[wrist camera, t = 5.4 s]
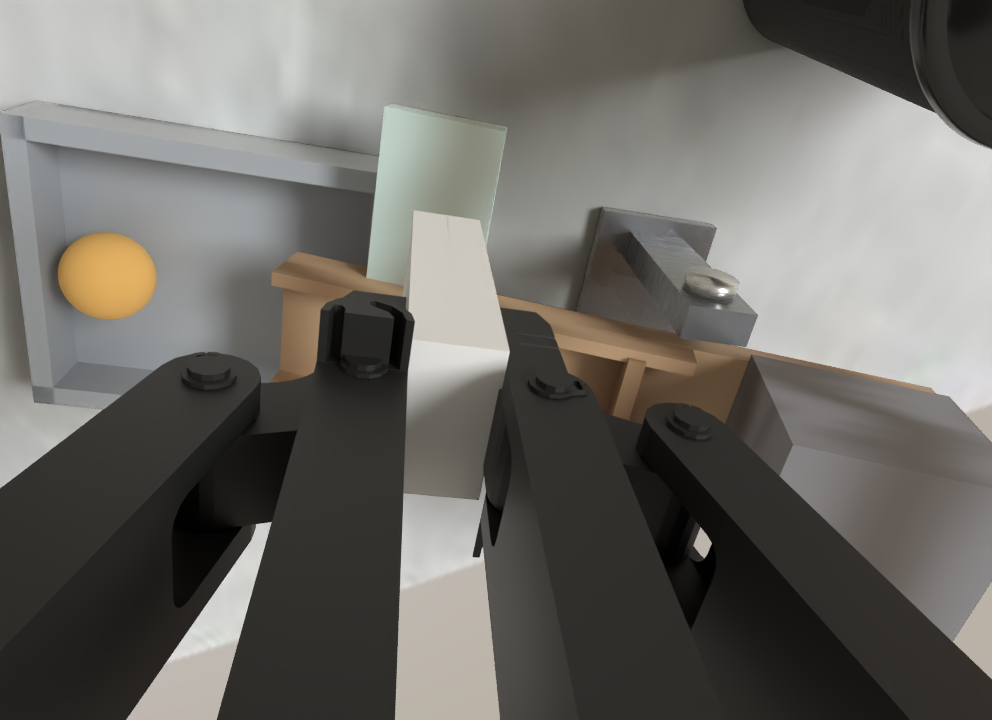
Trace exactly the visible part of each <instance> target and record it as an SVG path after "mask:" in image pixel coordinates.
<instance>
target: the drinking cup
mask: <svg viewBox="0 0 992 720" xmlns="http://www.w3.org/2000/svg"><path fill="white" fill-rule="evenodd" d="M743 2H744V6H745V9H746V12H747V15H748V17H749V19H750V21H751V22H752V24H753V25H754V27H755V28H756V29H757V30H758V31H759V32H760V33H761V34H762V35H763V36H765V37H766V38H768V39H769V40H771V41H773V42H776V43H778V44H780V45H782V46H785V47H787V48H789V49H791V50H794V51H796V52H798V53H801V54H803V55H805V56H807V57H810V58H812V59H814V60H816V61H819V62H821V63H823V64H826V65H828V66H830V67H832V68H835V69H837V70H839V71H841V72H844V73H846V74H848V75H851V76H853V77H855V78H857V79H860V80H862V81H864V82H866V83H869V84H871V85H873V86H875V87H878V88H880V89H882V90H885V91H887V92H889V93H891V94H894V95H896V96H898V97H900V98H903V99H905V100H907V101H910V102H912V103H914V104H916V105H919V106H921V107H923V108H925V109H928V110H930V111H932V112H935V113H937V114H938V116H939V117H940V118H941V119H942V120H943V121H944V122H945V123H946V124H947V125H948V126H949V127H950V128H951V129H952V130H954V131H955V132H956V133H958V134H959V135H961V136H962V137H964V138H966V139H967V140H969V141H971V142H973V143H975V144H978V145H980V146H983V147H985V148H988V149H991V150H992V0H743Z"/></svg>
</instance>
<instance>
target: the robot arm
mask: <svg viewBox="0 0 992 720" xmlns="http://www.w3.org/2000/svg"><path fill="white" fill-rule="evenodd" d="M483 477H485V485H486V496H485V501H484V505H483V510H482V515H481V519H480V524H479V529H478V533H477V538H476V543H475V547H474V552H473V557H480V553H481V549H482V547H483V549H484V559H485V570H486V580H487V589H488V600H489V609H490V620H491V630H492V639H493V651H494V661H495V671H496V680H497V691H498V701H499V711H500V720H992V679H991V678H990V677H989V676H988V675H987V674H986V673H984V672H983V671H982V670H981V669H980V668H979V667H978V666H977V665H976V664H975V663H974V662H973V661H972V660H971V659H970V658H969V657H968V656H967V655H966V654H965V653H964V652H963V651H961V650H960V649H959V648H958V647H957V646H956V645H955V644H954V643H953V642H952V641H951V640H950V639H949V638H948V637H947V636H946V635H945V634H944V633H943V632H942V631H941V630H940V629H939V628H938V627H937V626H935V625H934V624H933V623H932V622H931V621H930V620H929V619H928V618H927V617H926V616H925V615H924V614H923V613H922V612H921V611H920V610H919V609H918V608H917V607H916V606H915V605H914V604H912V603H911V602H910V601H909V600H908V599H907V598H906V597H905V596H904V595H903V594H902V593H901V592H900V591H899V590H898V589H897V588H896V587H895V586H894V585H893V584H892V583H891V582H890V581H888V580H887V579H886V578H885V577H884V576H883V575H882V574H881V573H880V572H879V571H878V570H877V569H876V568H875V567H874V566H873V565H872V564H871V563H870V562H869V561H868V560H867V559H866V558H864V557H863V556H862V555H861V554H860V553H859V552H858V551H857V550H856V549H855V548H854V547H853V546H852V545H851V544H850V543H849V542H848V541H847V540H846V539H845V538H844V537H843V536H841V535H840V534H839V533H838V532H837V531H836V530H835V529H834V528H833V527H832V526H831V525H830V524H829V523H828V522H827V521H826V520H825V519H824V518H823V517H822V516H821V515H820V514H819V513H817V512H816V511H815V510H814V509H813V508H812V507H811V506H810V505H809V504H808V503H807V502H806V501H805V500H804V499H803V498H802V497H801V496H800V495H799V494H798V493H797V492H796V491H795V490H793V489H792V488H791V487H790V486H789V485H788V484H787V483H786V482H785V481H784V480H783V479H782V478H781V477H780V476H779V475H778V474H777V473H776V472H775V471H774V470H773V469H772V468H770V467H769V466H768V465H767V464H766V463H765V462H764V461H763V460H762V459H761V458H760V457H759V456H758V455H757V454H756V453H755V452H754V451H753V450H752V449H751V448H750V447H749V446H748V445H746V444H745V443H744V442H743V441H742V440H741V439H740V438H739V437H738V436H737V435H736V434H735V433H734V432H733V431H732V430H731V429H730V428H729V427H728V426H727V425H726V424H724V423H723V422H722V421H720V420H719V419H717V418H716V417H715V416H713V415H711V414H709V413H707V412H705V411H703V410H702V409H701V408H699V407H696V406H693V405H691V406H689V404H685V403H668V402H665V403H659V404H654V405H652V406H651V407H650V408H648V409H647V410H646V413H645V417H644V420H643V423H642V424H639V423H636V422H633V421H629V420H626V419H622V418H619V417H616V416H613V415H610V414H607V413H604V412H602V411H601V409H600V406H599V404H598V402H597V399H596V397H595V394H594V392H593V391H592V389H591V388H590V387H589V385H588V384H587V383H585V382H584V381H582V380H581V379H579V378H578V377H576V376H574V375H571V374H569V373H568V372H567V369H566V366H565V363H564V361H563V358H562V355H561V352H560V350H559V347H558V344H557V341H556V340H555V336H554V333H553V330H552V328H551V325H550V324H549V323H548V322H547V321H546V320H544V319H543V318H542V317H541V316H540V315H539V314H538V313H536V312H531V311H523V310H516V309H508V308H501V307H500V306H499V302H498V298H497V293H496V289H495V285H494V280H493V276H492V271H491V267H490V263H489V258H488V254H487V250H486V245H485V241H484V236H483V232H482V228H481V223H480V220H475V219H469V218H462V217H456V216H449V215H442V214H436V213H429V212H422V211H416V210H414V211H413V219H412V227H411V234H410V242H409V250H408V257H407V265H406V273H405V280H404V288H403V296H394V295H387V294H379V293H371V292H364V291H356V290H353V291H352V292H350V293H349V294H347V295H346V296H344V297H343V298H337V299H335V300H332V301H330V302H327V303H326V304H325V305H324V306H323V307H322V308H321V311H320V324H319V337H318V350H317V362H316V365H315V369H314V372H313V373H311V374H309V375H307V376H305V377H302V378H298V379H294V380H290V381H282V382H271V383H261V376H260V373H259V370H258V368H257V367H256V366H254V365H253V364H252V363H250V362H249V361H247V360H245V359H242V358H239V357H236V356H233V355H227V354H221V353H219V352H207V353H205V352H197V353H193V354H190V355H185V356H181V357H177V358H174V359H172V360H170V361H168V362H166V363H165V364H163V365H161V366H160V367H158V368H157V369H156V370H155V371H153V372H152V373H151V374H149V375H148V376H147V377H145V378H144V379H143V380H141V381H140V382H139V383H138V384H136V385H135V386H134V387H132V388H131V389H130V390H128V391H127V392H126V393H125V394H123V395H122V396H121V397H119V398H118V399H117V400H115V401H114V402H113V403H111V404H110V405H109V406H108V407H106V408H105V409H104V410H102V411H101V412H100V413H98V414H97V415H96V416H94V417H93V418H92V419H91V420H89V421H88V422H87V423H85V424H84V425H83V426H81V427H80V428H79V429H77V430H76V431H75V432H74V433H72V434H71V435H70V436H68V437H67V438H66V439H64V440H63V441H62V442H60V443H59V444H58V445H57V446H55V447H54V448H53V449H51V450H50V451H49V452H47V453H46V454H45V455H43V456H42V457H41V458H40V459H38V460H37V461H36V462H34V463H33V464H32V465H30V466H29V467H28V468H27V469H25V470H24V471H23V472H21V473H20V474H19V475H17V476H16V477H15V478H13V479H12V480H11V481H10V482H8V483H7V484H6V485H4V486H3V487H2V488H0V720H126V719H127V717H128V716H129V715H130V713H131V712H132V710H133V709H134V707H135V706H136V705H137V703H138V702H139V700H140V699H141V697H142V696H143V695H144V693H145V692H146V690H147V689H148V687H149V686H150V685H151V683H152V682H153V680H154V679H155V677H156V676H157V674H158V673H159V672H160V670H161V669H162V667H163V666H164V665H165V663H166V662H167V660H168V659H169V657H170V656H171V654H172V653H173V652H174V650H175V649H176V647H177V646H178V644H179V643H180V642H181V640H182V639H183V637H184V636H185V634H186V633H187V631H188V630H189V629H190V627H191V626H192V624H193V623H194V621H195V620H196V619H197V617H198V616H199V614H200V613H201V611H202V610H203V608H204V607H205V606H206V604H207V603H208V601H209V600H210V598H211V597H212V596H213V594H214V593H215V591H216V590H217V588H218V587H219V586H220V584H221V583H222V581H223V580H224V578H225V577H226V575H227V574H228V573H229V571H230V570H231V568H232V567H233V565H234V564H235V563H236V561H237V560H238V558H239V557H240V555H241V554H242V552H243V551H244V550H245V548H246V547H247V545H248V544H249V542H250V541H251V539H252V537H253V534H254V531H255V528H256V524H260V523H267V522H272V523H271V527H270V531H269V534H268V538H267V541H266V545H265V549H264V552H263V556H262V559H261V563H260V566H259V570H258V574H257V577H256V581H255V584H254V588H253V592H252V595H251V599H250V602H249V606H248V610H247V613H246V617H245V620H244V624H243V628H242V631H241V635H240V638H239V642H238V645H237V649H236V653H235V657H234V660H233V663H232V667H231V671H230V675H229V678H228V682H227V685H226V689H225V692H224V696H223V699H222V703H221V707H220V710H219V714H218V717H217V720H395V700H396V673H397V647H398V620H399V595H400V568H401V542H402V515H403V493H408V494H419V495H430V496H442V497H453V498H464V499H476V500H479V496H480V491H481V487H482V482H483ZM700 527H701V528H702V529H703V530H704V532H705V533H706V534H707V536H708V537H709V539H710V540H711V542H712V545H711V547H710V550H709V552H708V554H707V556H706V557H705V559H704V558H703V557H702V556H701V555H700V554H699V553H698V551H697V550H696V549H695V547H694V546H693V545H694V542H695V539H696V537H697V534H698V532H699V529H700Z"/></svg>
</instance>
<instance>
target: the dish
mask: <svg viewBox="0 0 992 720" xmlns="http://www.w3.org/2000/svg"><path fill="white" fill-rule="evenodd" d="M0 134H1V142H2V150H3V158H4V166H5V174H6V182H7V190H8V198H9V206H10V214H11V222H12V230H13V238H14V246H15V254H16V262H17V270H18V278H19V286H20V294H21V302H22V310H23V318H24V326H25V334H26V342H27V350H28V358H29V365H30V373H31V381H32V389H33V397H34V402H36V403H46V404H56V405H66V406H75V407H85V408H95V409H105V408H106V407H108V406H109V405H110V404H111V403H113V402H114V401H115V400H117V399H118V398H119V397H121V396H122V395H123V394H125V393H126V392H127V391H128V390H130V389H131V388H132V387H134V386H135V385H136V384H138V383H139V382H140V381H141V380H143V379H144V378H145V377H147V376H148V375H149V374H151V373H152V372H153V371H155V370H156V369H157V368H158V367H160V366H161V365H163V364H165V363H166V362H168V361H170V360H172V359H174V358H177V357H181V356H185V355H190V354H193V353H197V352H205V353H207V352H219V353H221V354H227V355H233V356H236V357H239V358H242V359H245V360H247V361H249V362H250V363H252V364H253V365H254V366H256V367H257V368H258V370H259V373H260V376H261V383H268V382H269V381H270V380H271V379H272V378H273V377H274V376H275V375H276V373H277V372H278V371H279V370H280V353H281V333H282V313H283V294H284V288H281V287H277V286H272V285H271V280H272V272H273V271H274V270H275V269H276V268H278V267H279V266H280V265H281V264H283V263H284V262H285V261H286V260H288V259H289V258H290V257H291V256H293V255H294V254H295V253H296V252H301V253H305V254H310V255H315V256H319V257H324V258H329V259H333V260H338V261H343V262H347V263H352V264H357V265H361V266H366V267H367V266H368V257H369V247H370V238H371V228H372V219H373V209H374V200H375V190H376V180H377V171H378V161H379V156H375V155H369V154H363V153H357V152H351V151H345V150H338V149H332V148H326V147H320V146H314V145H308V144H302V143H295V142H289V141H283V140H277V139H271V138H265V137H258V136H252V135H246V134H240V133H234V132H228V131H221V130H215V129H209V128H203V127H197V126H191V125H185V124H178V123H172V122H166V121H160V120H154V119H148V118H141V117H135V116H129V115H123V114H117V113H111V112H104V111H98V110H92V109H86V108H80V107H74V106H68V105H61V104H55V103H49V102H43V101H34V102H31V103H27V104H24V105H21V106H18V107H14V108H11V109H8V110H4V111H1V112H0ZM99 232H110V233H117V234H120V235H124V236H126V237H128V238H130V239H132V240H134V241H136V242H137V243H138V244H140V245H141V246H142V247H143V248H144V249H145V250H146V251H147V253H148V254H149V255H150V257H151V259H152V261H153V263H154V265H155V269H156V275H157V282H156V288H155V291H154V294H153V296H152V298H151V299H150V301H149V302H148V303H147V305H146V306H145V307H143V308H142V309H141V310H140V311H138V312H137V313H135V314H133V315H131V316H129V317H126V318H122V319H115V320H104V319H98V318H94V317H91V316H88V315H86V314H84V313H82V312H81V311H79V310H77V309H76V308H75V307H74V306H73V305H72V304H71V303H70V302H69V301H68V300H67V299H66V297H65V296H64V294H63V292H62V290H61V288H60V285H59V281H58V266H59V262H60V259H61V257H62V255H63V254H64V252H65V251H66V249H67V248H68V247H69V246H70V245H71V244H72V243H73V242H75V241H76V240H78V239H79V238H81V237H84V236H86V235H89V234H93V233H99Z"/></svg>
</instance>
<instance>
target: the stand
mask: <svg viewBox="0 0 992 720" xmlns="http://www.w3.org/2000/svg"><path fill="white" fill-rule="evenodd" d="M716 229H717V228H716V227H715V226H713V225H712V224H708V223H702V222H695V221H689V220H683V219H676V218H670V217H664V216H658V215H651V214H645V213H639V212H632V211H626V210H620V209H614V208H607V207H602V210H601V214H600V218H599V222H598V226H597V230H596V234H595V238H594V242H593V246H592V250H591V254H590V258H589V262H588V266H587V270H586V274H585V278H584V282H583V286H582V290H581V294H580V298H579V302H578V306H577V310H576V312H580V313H584V314H589V315H594V316H598V317H603V318H608V319H612V320H617V321H621V322H626V323H631V324H635V325H640V326H645V327H649V328H654V329H659V330H663V331H668V332H673V333H677V335H678V336H679V338H683V339H690V340H698V341H706V342H713V343H721V344H728V345H736V346H743V347H746V346H747V343H748V340H749V338H750V335H751V332H752V330H753V327H754V324H755V322H756V319H757V316H758V314H757V313H756V312H755V311H754V310H753V309H752V308H751V307H750V306H749V305H748V304H747V303H746V302H745V301H744V300H743V299H742V298H741V297H740V296H739V295H738V294H737V293H736V291H737V288H738V286H739V281H738V280H737V279H736V278H735V277H733V276H731V275H729V274H727V273H725V272H722V271H719V270H716V269H712V268H711V267H710V266H709V265H708V264H707V263H706V260H707V256H708V253H709V250H710V247H711V244H712V241H713V238H714V235H715V232H716Z"/></svg>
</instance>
